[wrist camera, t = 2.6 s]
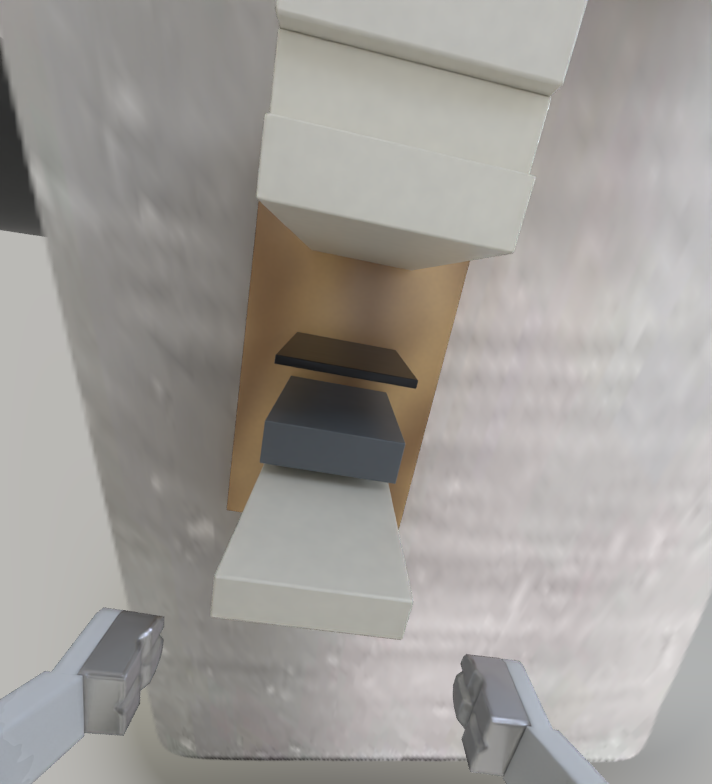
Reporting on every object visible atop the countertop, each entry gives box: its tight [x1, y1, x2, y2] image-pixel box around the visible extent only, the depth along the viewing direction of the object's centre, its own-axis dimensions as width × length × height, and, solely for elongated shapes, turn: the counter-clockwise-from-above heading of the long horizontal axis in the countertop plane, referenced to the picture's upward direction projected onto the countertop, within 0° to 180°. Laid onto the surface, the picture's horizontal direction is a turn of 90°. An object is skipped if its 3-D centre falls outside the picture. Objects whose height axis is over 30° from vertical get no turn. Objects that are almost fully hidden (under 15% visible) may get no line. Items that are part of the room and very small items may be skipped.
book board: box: [227, 201, 470, 530], centre depth 23 cm, size 12×23×1 cm, turn 169°
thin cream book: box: [210, 464, 413, 640], centre depth 17 cm, size 6×2×13 cm, turn 79°
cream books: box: [256, 0, 588, 271], centre depth 13 cm, size 6×5×13 cm
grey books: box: [260, 376, 405, 484], centre depth 20 cm, size 6×9×8 cm, turn 169°
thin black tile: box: [274, 332, 418, 389], centre depth 18 cm, size 6×1×7 cm, turn 79°
